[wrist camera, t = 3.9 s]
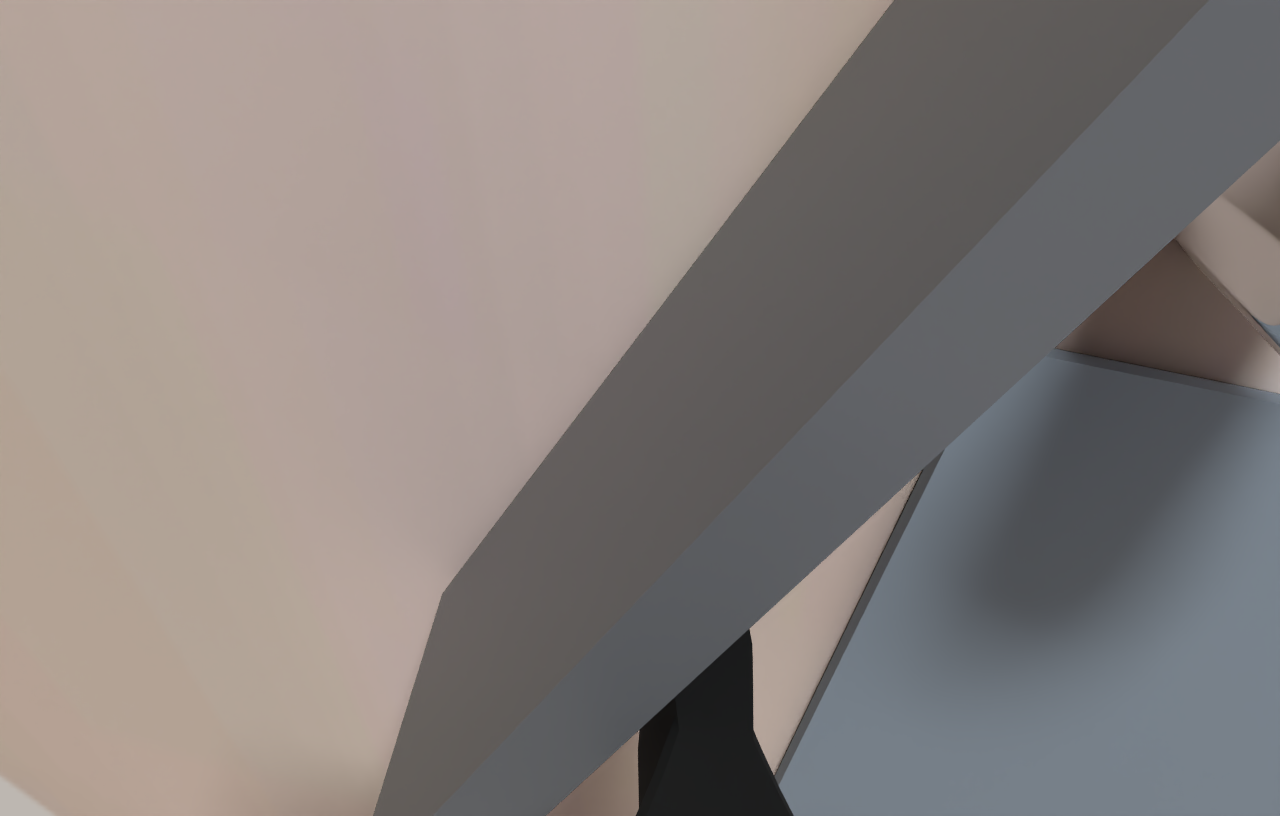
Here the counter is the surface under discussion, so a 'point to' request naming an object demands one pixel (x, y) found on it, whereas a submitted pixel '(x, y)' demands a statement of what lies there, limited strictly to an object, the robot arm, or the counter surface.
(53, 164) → the counter surface
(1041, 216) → the grey rectangular panel
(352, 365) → the counter surface
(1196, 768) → the mat
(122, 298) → the counter surface
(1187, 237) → the milkshake
